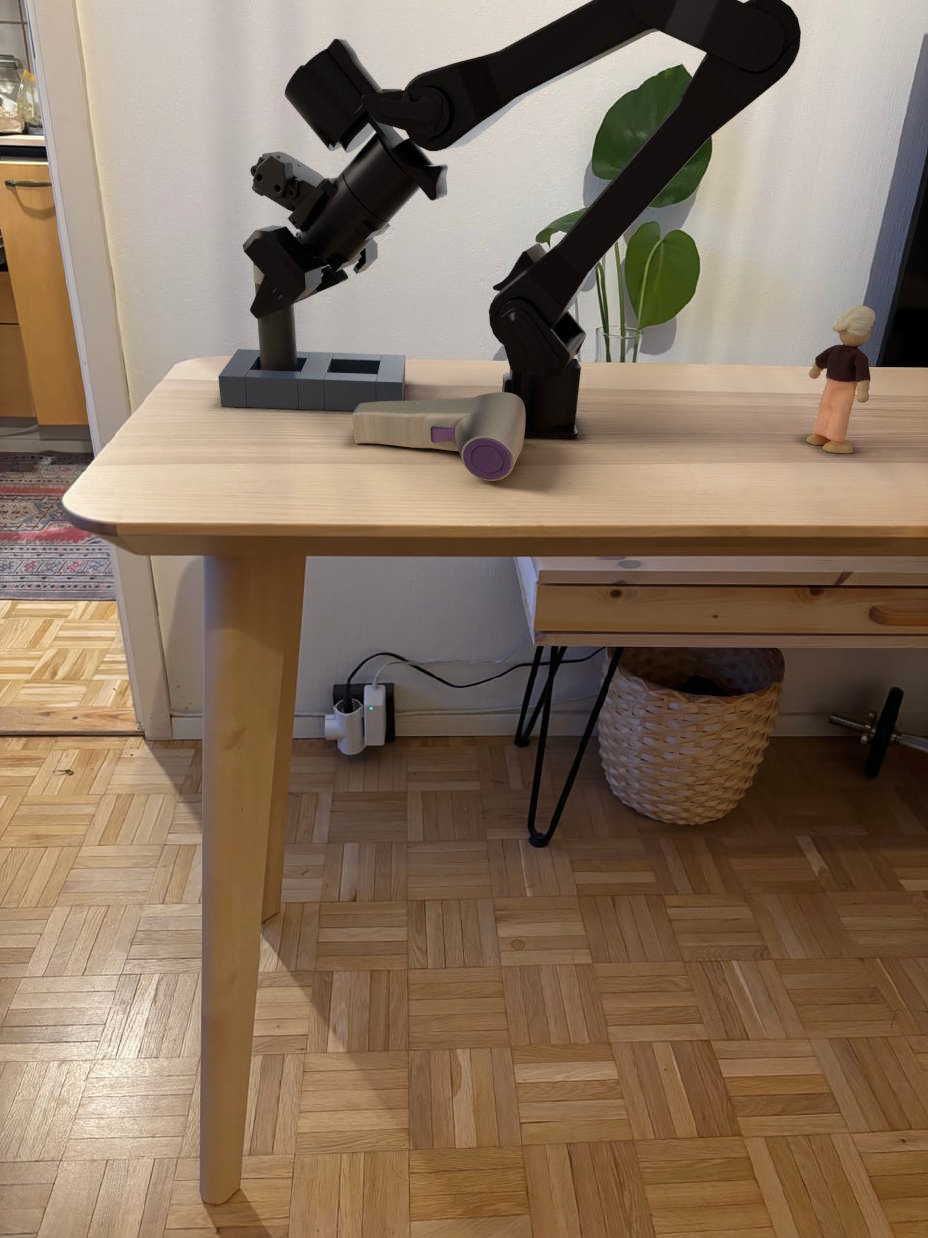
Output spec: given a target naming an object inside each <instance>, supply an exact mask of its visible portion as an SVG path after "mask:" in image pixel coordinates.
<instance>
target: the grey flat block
mask: <svg viewBox="0 0 928 1238" xmlns="http://www.w3.org/2000/svg"><path fill="white" fill-rule="evenodd" d="M235 351H236V352H235V353H234V354H233V355H232V356H231V358H230V359H229V361H228V362H227V363H226V365H225V366H224V368H223V369H222V370H221V372H220V373H219V374H218V388H219V398H220V406H221V407H222V408H256V409H257V408H258V409H284V410H285V409H287V410H309V411H310V410H311V411H312V410H317V411H341V412H342V411H343V412H354V410H355V409H356V407H357V406H358V404H360V403H368V402H380V401H404V398H405V389H406V355H405V354H384V353H360V352H359V353H357V352H330V351H329V352H328V351H327V352H326V351H300V350H298V351H297V369H298V372H295V371H267V370H261V362H260V349H247V348H245V349H244V348H238V349H236V350H235Z"/></svg>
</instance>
